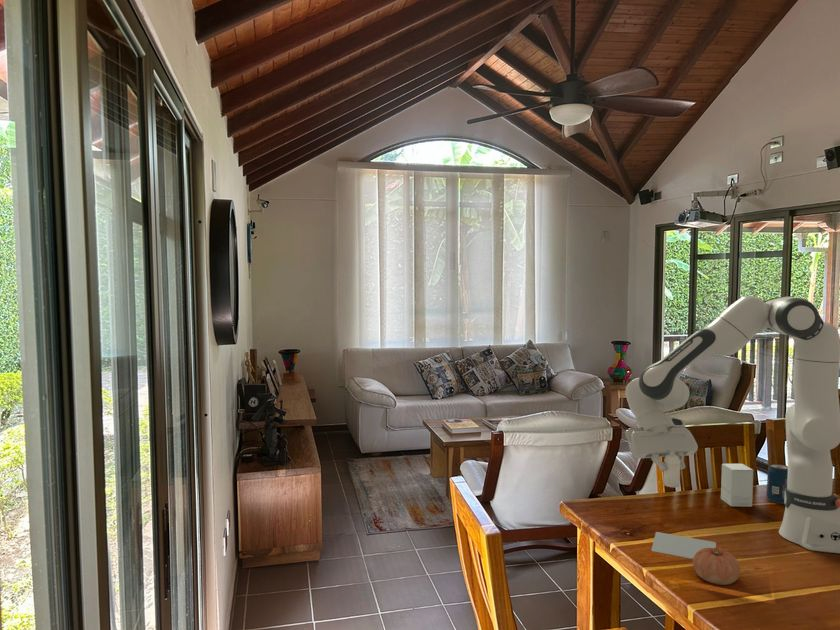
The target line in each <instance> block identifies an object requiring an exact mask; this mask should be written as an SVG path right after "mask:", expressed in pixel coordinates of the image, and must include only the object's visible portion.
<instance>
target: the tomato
mask: <svg viewBox="0 0 840 630" xmlns="http://www.w3.org/2000/svg"><path fill="white" fill-rule="evenodd" d="M692 566H693V568H694V571H695V573H696V574H697V575H698V577H700V578H701V579H702V580H704V581H706V582H708V583H710V584H714V585H719V586H720V585H722V586H725V585H731V584H733V583H735V582H736V581H737V580H738V579H739V577H740V575H741V565H740V562H739V561H738V560H737V558H736V557H735V556H734V555H733V554H732V553H730V552H729V551H726V550H723V549H721V548H717V547H716V548H703V549H701V550H700V551H698V552H697V553H696V554H695V556H694V558H693V559H692Z"/></svg>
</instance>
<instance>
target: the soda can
mask: <svg viewBox="0 0 840 630" xmlns="http://www.w3.org/2000/svg"><path fill="white" fill-rule="evenodd" d="M766 477H767V478H766V479H767V482H766V484H767V485H766V496H767V498H768V500H769V501H770V502H773V503H777V504H785V503H784V495H785V487H786V486H787V477H788V465H786V464H782V463H770V464H769V467H768V468H767V476H766Z"/></svg>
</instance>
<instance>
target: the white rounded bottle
mask: <svg viewBox="0 0 840 630" xmlns="http://www.w3.org/2000/svg"><path fill="white" fill-rule="evenodd" d="M663 462H665V463H666V466H667V469H666V470H663V476H662V478H663V480H662V484H663V486H665V487H669V488H680V485H681V483H680V482H681V469H680V459H679V457H678V456H676V455H675V451H673V450H670V454H668V455H667V456H666V457H663Z"/></svg>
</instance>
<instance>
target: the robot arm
mask: <svg viewBox="0 0 840 630" xmlns="http://www.w3.org/2000/svg"><path fill="white" fill-rule="evenodd" d="M766 329H767V330H768V331H771V332H775V333H777V334H778V335H779V334H780V335H783V336H790V337H792V339H793V341H794V347H795V350H794V358H793V371H792V373H793V374H792V388H793V400H794V404H792V405H791V406H790V407H788V409H787V410H786V411H785V417H784V418H785V440H786V441H785V442H786V453H787V466H788V477H787V486H786V487H785V495H784V503H783V504H784V506H785V507H784V508H785V509H784V512H783V518H782V522H781V525H780V528H779V530H778V533H779V535H780V536H781V537H782V538H784V540H788V541H789V542H792V543H794V544H797V545H799V546H801V547H803V548H804V549H806V550H810V551H816V552H822V553H823V552H824V553H835V554H840V497H839V496H838V495H837V494H836V493H833V477H834V466H833V462H832V455H831V450H833V449H835V448H837V447H838V446H839V445H840V399H839V379H840V333H839V331H838V328H837V327H836V326H835V325H834V324H831V322H830V323H829V322H828V321H827V322H826V321H824V320H823V319H822V317H821V315H820V313H819V311H818V309H817V307H816V306H815V305H814V304H813V303H812V302H811V301H809V300H807V299H805V298H803V297H802V298H800V297H795V296H783V297H782V296H780V297H778V296H777V297H772V298H770V299H767V300H762V299H761V298H758V297H757V296H753V295H744V296H742V297H740V298H737V300H736V301H734V302H733V303H731V304H730V305H729V306H727V307H726V308H725V309H724V310H723V311H722V312H720V314H719V315H718V316H717V317H716V318H714V320H712V321H711V322H710V323H709V324H707V325H706V326H705V327H703V328H702V329H699V330H696V332H694V333H692V334H691V335H690V336H688V337H687V338H686V339H685V340H684V341H682V342H681V343H680V344H678V346H677V347H675V348H674V349H672V350H671V351H670V352H669V353H668V354H666V356H663V358H662V359H660V360H659V361H657V362H655V363H652V364H650V365H648V366H647V367H645V368H644V369H643V370H642V372H641V374H640V376H639V377H637V378H634V379H632V380H631V381H630V382H629V383H627V385H626V387H625V392H624V393H625V397H626V401H627V404H628V407H629V409H630V412H631V413H632V415H633V416H634V417H635V423H636V425H637V427H634V428H633V427H631V428H630V427H629V428H628V429H626V430H625V432H624V435H625V437H626V440H627V442H628V447H629V450H630V451H629V452H630V453H631V456H632V457H633V458H635V459H636V460H637V459H639V460H640V459H650V460H651V461H652V462H653V463H654V464H655V465H657V467H658V469H659V471H664V470H666V469H667V466H666V463H665V462H664V461H662V460H661V459H660V458H665V457H666V456H667V455H668V454H670V450H673V451H675V455H676V456H678V457H679V459H680V470H685V468H686V464H685V461H684V460H685V456H693V455H695V454H696V452H697V451H698V448H699V446H698V443H697V441H696V439H695V438H694V435H693V434H692V432H691V431H690V430H689V428H688V427H686V425H687V424H686V422H685V420H683V419H682V418H681V419H680V418H676V417H672V416H669V415H666V414H665V413H669V412H671V411H676V410H678V409H680V408H683V407H684V406H685V405H687V403H688V401H689V399H690V398H691V397H690V395H691V392H690V388H689V386H688V385H687V384H686V383H685V381H683V380H682V379H681V378H680V377H679V375H680V374H681V373H682V372H684V371H685V370H686V369H687V368H688V367H689V366H691V365H693V363H694V362H695V361H697V360H698V359H699V358H701V357H704V356H710V355H713V356H721V357H722V356H723V357H726V356H732V355H735V354H736V353H737V352H739V351H740V350H742V349H743V348H744V347H745V346H746V345H747V344H748V343H749V342H750V341H751V340H752V339H754V337H755V336H756V335H757V334H758V333H760V332H761V331H763V330H766Z"/></svg>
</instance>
